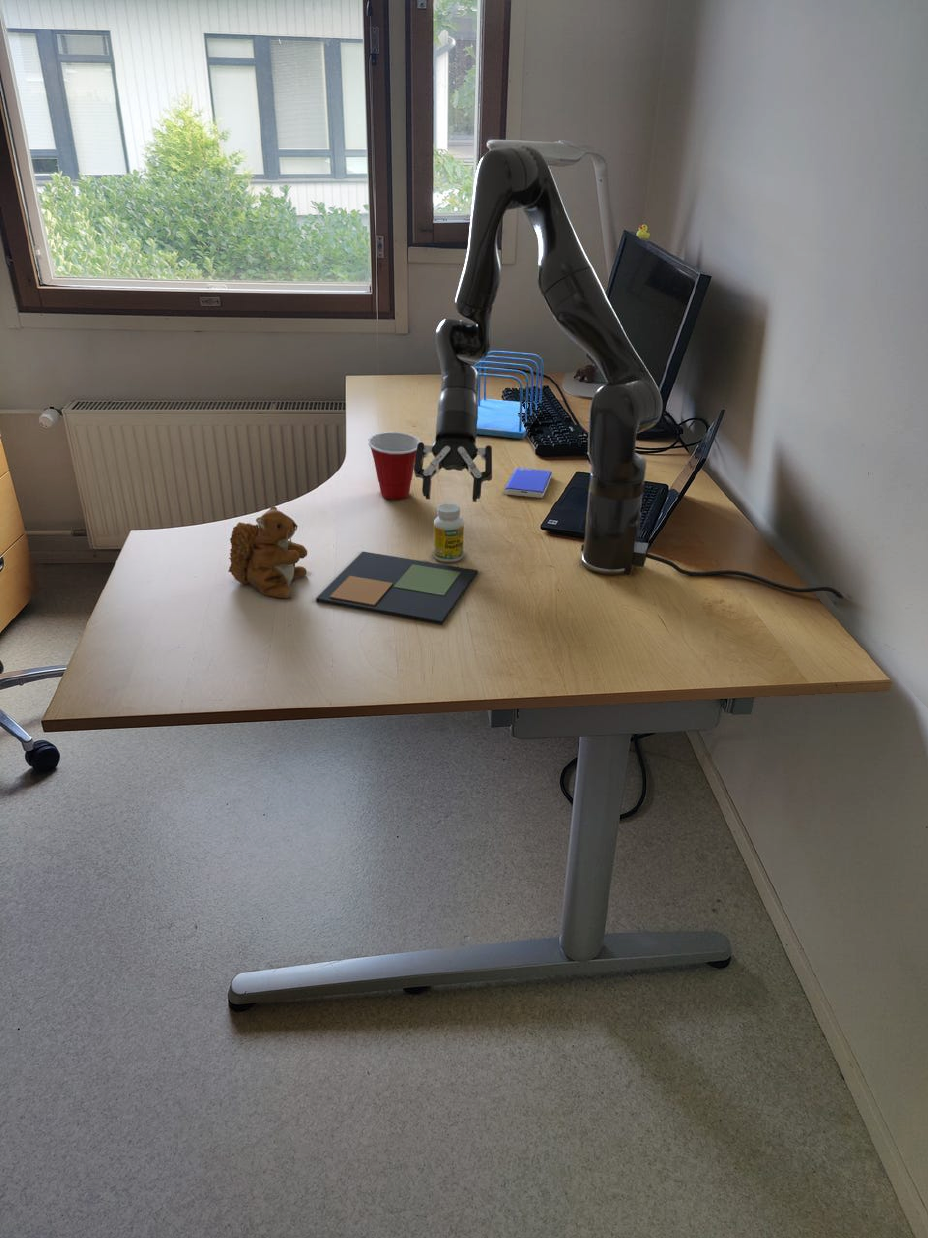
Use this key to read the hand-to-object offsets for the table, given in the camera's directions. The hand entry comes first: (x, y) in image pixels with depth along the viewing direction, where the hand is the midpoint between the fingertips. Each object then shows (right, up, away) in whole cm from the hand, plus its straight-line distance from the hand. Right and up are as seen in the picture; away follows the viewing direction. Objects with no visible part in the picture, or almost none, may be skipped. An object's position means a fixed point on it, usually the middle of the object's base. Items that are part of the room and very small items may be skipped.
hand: (451, 499), depth 161 cm
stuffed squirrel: (-31, -15, -9) cm, 36 cm away
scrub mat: (-9, -16, -10) cm, 21 cm away
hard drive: (+16, +7, +32) cm, 36 cm away
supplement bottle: (0, -11, +1) cm, 11 cm away
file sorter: (+12, +30, +71) cm, 77 cm away
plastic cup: (-12, +4, +26) cm, 29 cm away
